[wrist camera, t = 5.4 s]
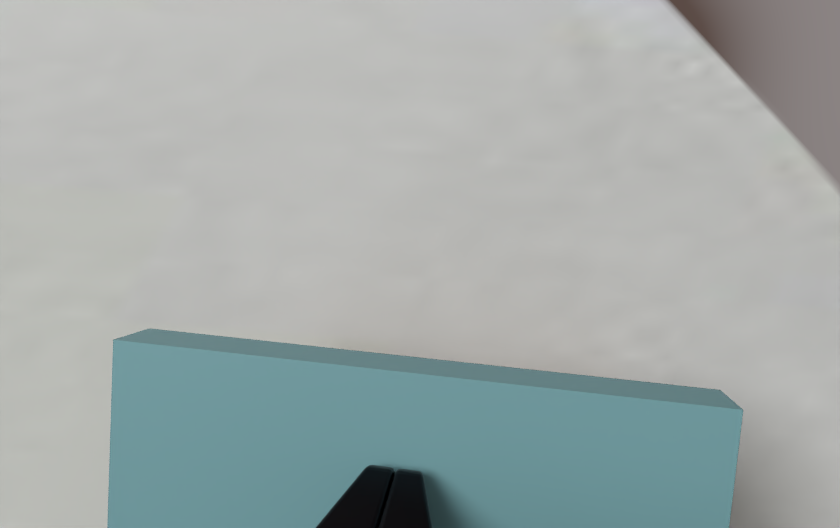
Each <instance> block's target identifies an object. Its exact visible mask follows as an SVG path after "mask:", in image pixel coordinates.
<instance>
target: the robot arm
mask: <svg viewBox="0 0 840 528" xmlns="http://www.w3.org/2000/svg"><path fill="white" fill-rule="evenodd" d="M316 528H433V527H432V521H431V516H430V510H429V504H428V498H427V493H426V487H425V481H424V476H423V474H422V472H420V471H416V470H408V469H397V470H396V471H395V470H394V469H393V468H391V467H386V466H379V465H369V466H367V467H366V468H365V469H364V470H363V471H362V472H361V473H360V475H359V476H358V477H357V478H356V479H355V481H354V482H353V483H352V484H351V485H350V487H349V488H348V489H347V490H346V491H345V493H344V494H343V495H342V496H341V498H340V499H339V500H338V501H337V502H336V504H335V505H334V506H333V507H332V508H331V510H330V511H329V512H328V513H327V514H326V516H325V517H324V518H323V519H322V520H321V522H320V523H319V524H318V525H317V526H316Z"/></svg>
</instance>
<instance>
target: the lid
mask: <svg viewBox="0 0 840 528" xmlns="http://www.w3.org/2000/svg"><path fill="white" fill-rule="evenodd" d="M742 416H743V409H742V408H740V407H739V406H738V405H737V404H736V403H735V402H733V401H732V400H731V399H730V398H729V397H728V396H726V395H725V394H724V393H723V392H722V391H721V390H715V389H706V388H696V387H687V386H678V385H669V384H659V383H650V382H641V381H632V380H622V379H613V378H604V377H594V376H585V375H576V374H567V373H557V372H548V371H539V370H529V369H520V368H511V367H502V366H492V365H483V364H474V363H464V362H455V361H446V360H437V359H427V358H418V357H409V356H399V355H390V354H381V353H372V352H362V351H353V350H344V349H334V348H325V347H316V346H307V345H297V344H288V343H279V342H270V341H260V340H251V339H242V338H232V337H223V336H214V335H205V334H195V333H186V332H177V331H167V330H158V329H146V330H143V331H140V332H137V333H133V334H130V335H127V336H124V337H121V338H117V339H114V340H113V367H112V399H111V432H110V464H109V497H108V528H316V526H317V525H318V524H319V523H320V522H321V520H322V519H323V518H324V517H325V516H326V514H327V513H328V512H329V511H330V510H331V508H332V507H333V506H334V505H335V504H336V502H337V501H338V500H339V499H340V498H341V496H342V495H343V494H344V493H345V491H346V490H347V489H348V488H349V487H350V485H351V484H352V483H353V482H354V481H355V479H356V478H357V477H358V476H359V475H360V473H361V472H362V471H363V470H364V469H365V468H366V467H367V466H369V465H379V466H386V467H391V468H393V469H394V470H395V471H396V470H397V469H408V470H416V471H420V472H422V474H423V476H424V481H425V487H426V493H427V498H428V504H429V510H430V516H431V521H432V527H433V528H729V523H730V515H731V507H732V499H733V490H734V482H735V474H736V465H737V457H738V449H739V441H740V432H741V424H742Z"/></svg>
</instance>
